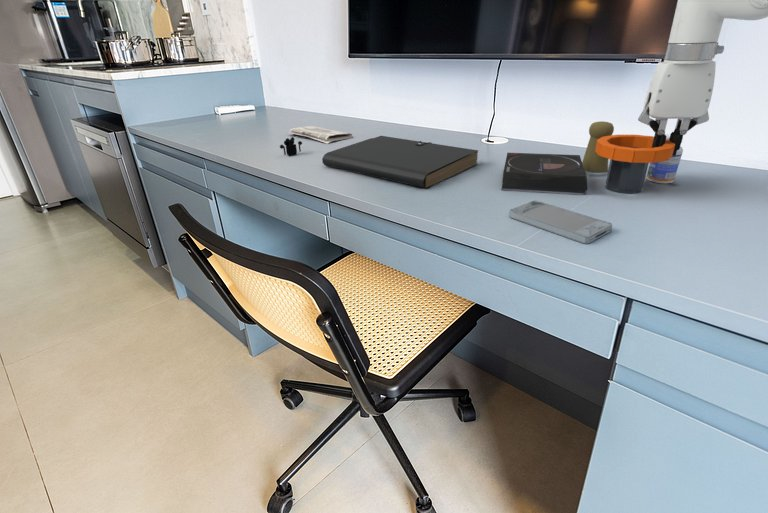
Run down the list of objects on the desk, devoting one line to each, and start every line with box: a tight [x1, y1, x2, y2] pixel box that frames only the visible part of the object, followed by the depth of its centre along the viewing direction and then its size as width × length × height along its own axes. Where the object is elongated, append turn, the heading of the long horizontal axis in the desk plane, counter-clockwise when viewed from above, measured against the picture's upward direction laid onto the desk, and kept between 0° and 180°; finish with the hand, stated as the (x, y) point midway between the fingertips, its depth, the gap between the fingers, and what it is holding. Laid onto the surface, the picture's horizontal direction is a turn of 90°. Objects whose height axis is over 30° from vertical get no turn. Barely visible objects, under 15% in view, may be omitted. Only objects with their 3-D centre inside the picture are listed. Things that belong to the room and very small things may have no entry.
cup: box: [604, 147, 650, 194], centre depth 91 cm, size 7×7×8 cm
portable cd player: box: [501, 152, 588, 196], centre depth 98 cm, size 16×17×4 cm
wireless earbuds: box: [279, 136, 303, 157], centre depth 128 cm, size 7×2×5 cm, turn 126°
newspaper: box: [287, 125, 353, 145], centre depth 150 cm, size 23×12×2 cm, turn 43°
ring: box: [595, 134, 675, 164], centre depth 89 cm, size 14×14×2 cm
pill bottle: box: [646, 133, 684, 184], centre depth 94 cm, size 5×5×10 cm
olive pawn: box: [582, 121, 615, 173], centre depth 103 cm, size 6×6×11 cm
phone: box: [509, 200, 613, 245], centre depth 78 cm, size 8×16×1 cm, turn 37°
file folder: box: [322, 135, 479, 189], centre depth 113 cm, size 33×4×24 cm
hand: (664, 153), depth 88 cm, fingers closed on ring, 2 cm apart
